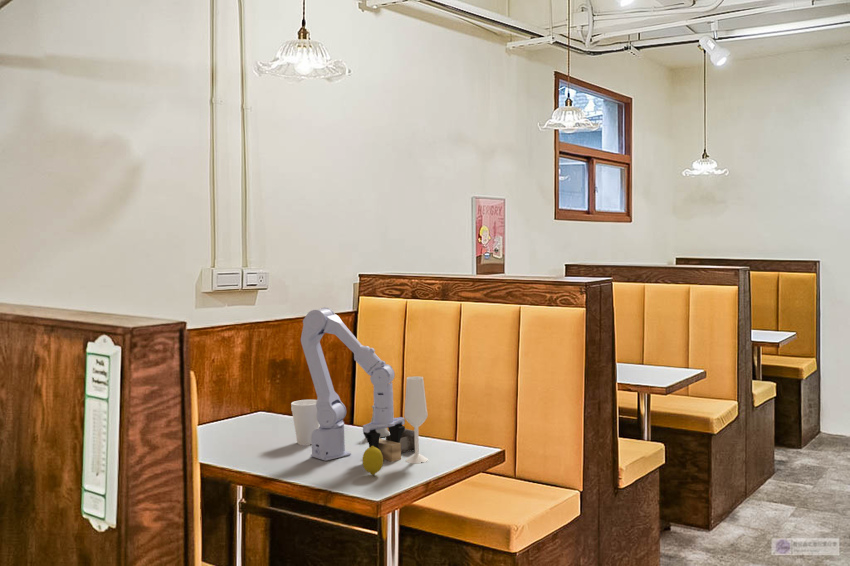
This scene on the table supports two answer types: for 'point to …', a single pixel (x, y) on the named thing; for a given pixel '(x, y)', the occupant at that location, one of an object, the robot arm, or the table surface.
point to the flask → (383, 431)
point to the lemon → (372, 460)
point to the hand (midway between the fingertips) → (384, 452)
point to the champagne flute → (415, 411)
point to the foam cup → (304, 420)
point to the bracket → (406, 440)
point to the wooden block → (390, 450)
